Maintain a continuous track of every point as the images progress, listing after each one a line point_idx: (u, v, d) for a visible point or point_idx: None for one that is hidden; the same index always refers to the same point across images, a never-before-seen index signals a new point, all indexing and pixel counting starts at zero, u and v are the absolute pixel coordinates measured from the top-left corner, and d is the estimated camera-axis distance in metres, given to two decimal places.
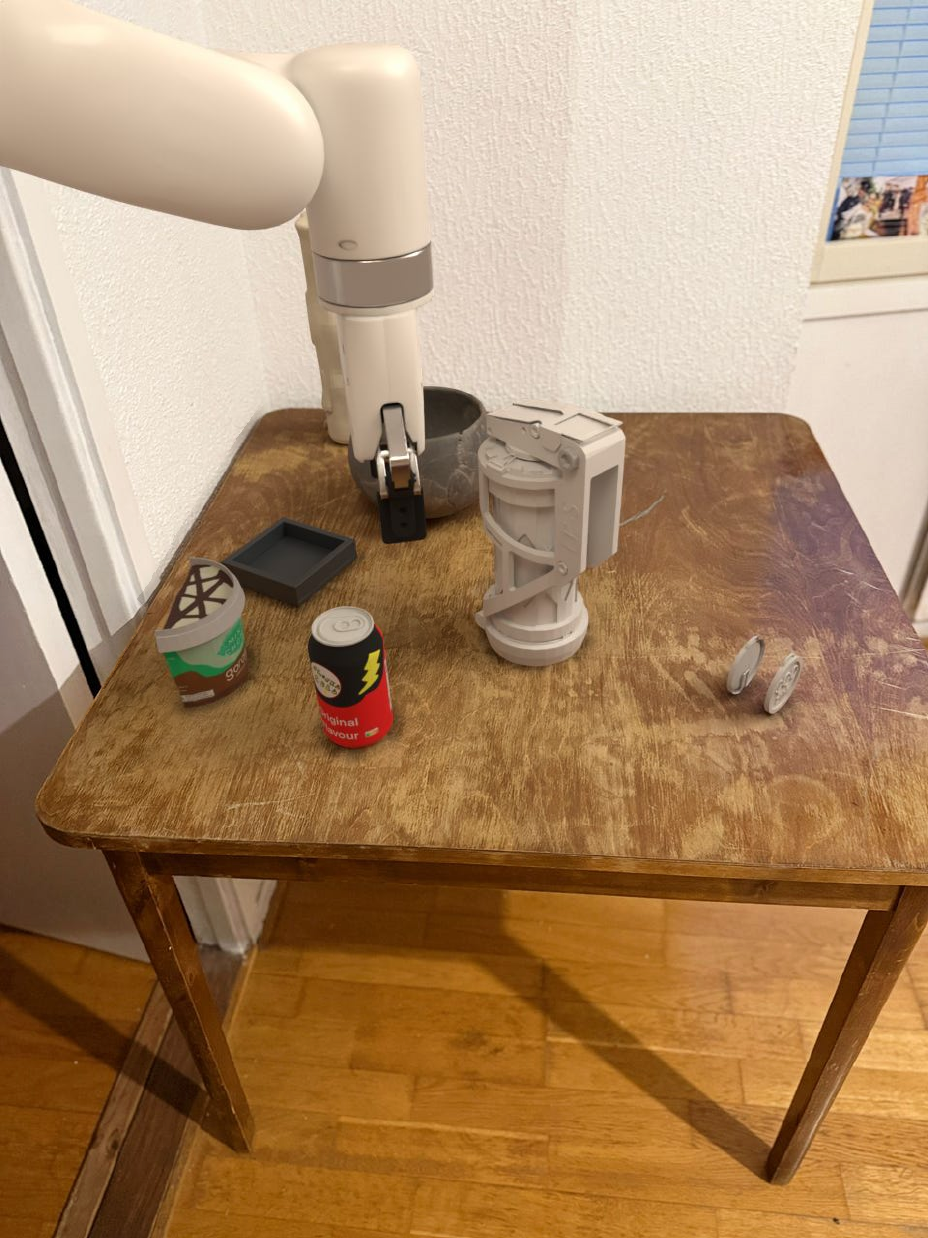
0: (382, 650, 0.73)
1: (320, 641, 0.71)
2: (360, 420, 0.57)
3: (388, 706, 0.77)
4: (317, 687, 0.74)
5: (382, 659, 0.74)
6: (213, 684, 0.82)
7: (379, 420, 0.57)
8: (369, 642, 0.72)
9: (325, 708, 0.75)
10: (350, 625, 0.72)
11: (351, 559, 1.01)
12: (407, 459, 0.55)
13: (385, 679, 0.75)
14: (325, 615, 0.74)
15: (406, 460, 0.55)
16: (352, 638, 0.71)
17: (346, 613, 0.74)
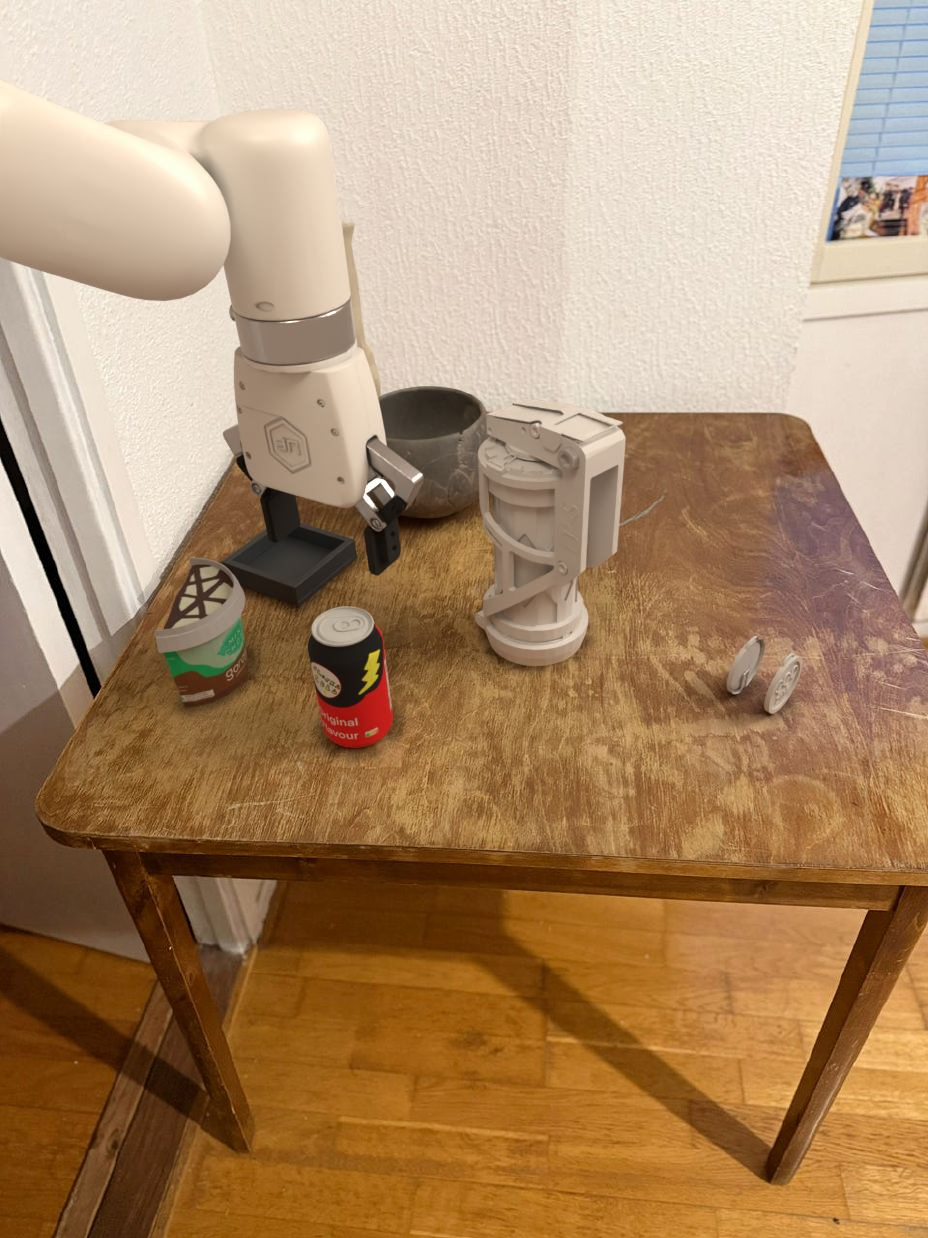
0: (382, 650, 0.73)
1: (320, 641, 0.71)
2: (353, 463, 0.59)
3: (388, 706, 0.77)
4: (317, 687, 0.74)
5: (382, 659, 0.74)
6: (213, 684, 0.82)
7: (366, 457, 0.59)
8: (369, 642, 0.72)
9: (325, 708, 0.75)
10: (350, 625, 0.72)
11: (351, 559, 1.01)
12: (421, 475, 0.60)
13: (385, 679, 0.75)
14: (325, 615, 0.74)
15: (421, 476, 0.60)
16: (352, 638, 0.71)
17: (346, 613, 0.74)
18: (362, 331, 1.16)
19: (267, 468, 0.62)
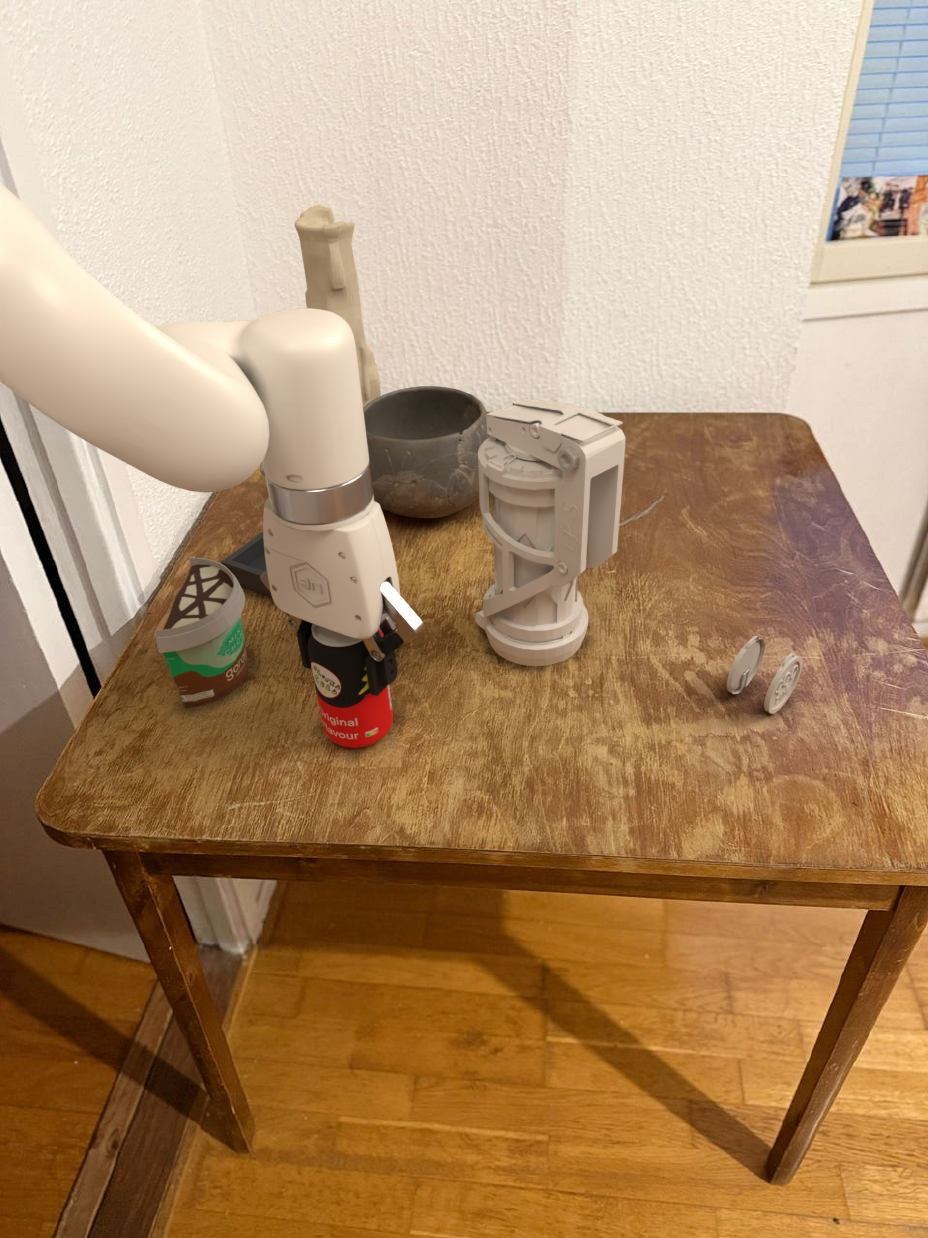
0: None
1: (320, 641, 0.71)
2: (370, 604, 0.66)
3: (388, 706, 0.77)
4: (317, 687, 0.74)
5: None
6: (213, 684, 0.82)
7: (380, 597, 0.67)
8: None
9: (325, 708, 0.75)
10: None
11: None
12: (423, 624, 0.68)
13: None
14: None
15: (422, 625, 0.68)
16: (352, 638, 0.71)
17: None
18: (362, 331, 1.16)
19: (291, 600, 0.70)
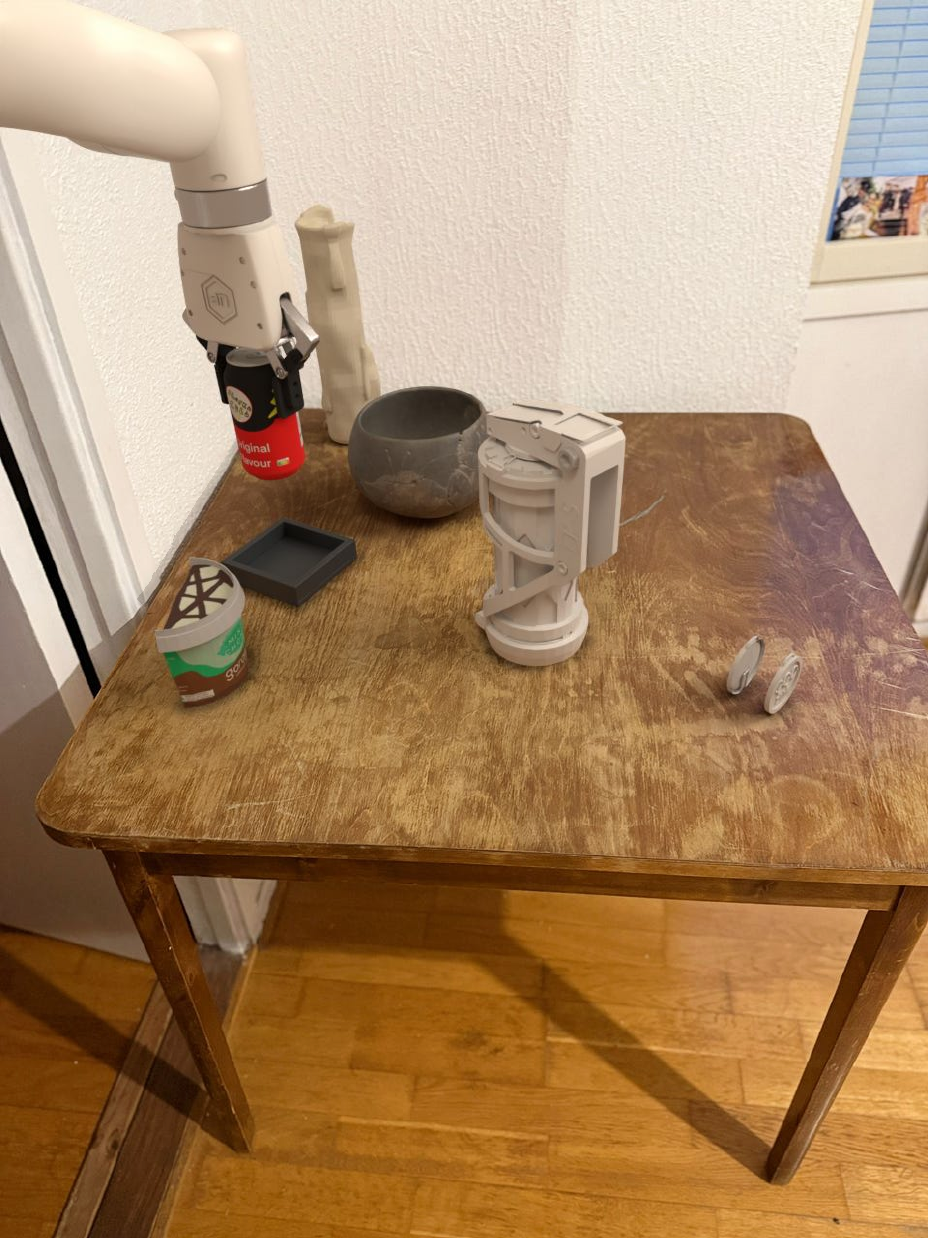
0: None
1: (232, 363, 0.81)
2: (269, 312, 0.75)
3: (298, 440, 0.86)
4: (233, 415, 0.84)
5: None
6: (213, 684, 0.82)
7: (280, 309, 0.76)
8: None
9: (241, 436, 0.85)
10: (260, 354, 0.82)
11: (351, 559, 1.01)
12: (318, 337, 0.77)
13: None
14: (240, 350, 0.84)
15: (318, 338, 0.77)
16: (260, 361, 0.81)
17: None
18: (362, 331, 1.16)
19: (205, 322, 0.79)
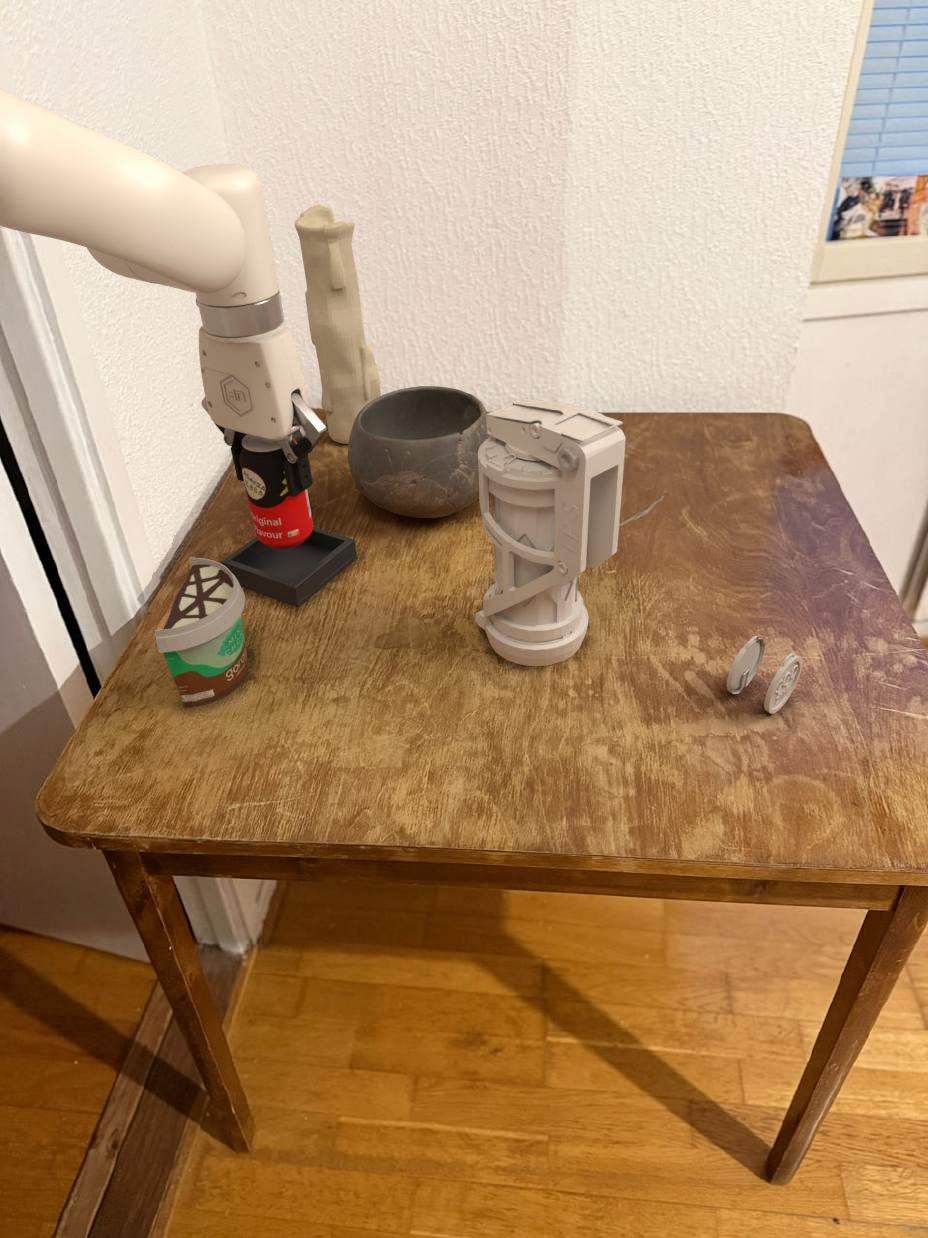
0: None
1: (247, 448, 0.89)
2: (282, 407, 0.84)
3: (307, 513, 0.95)
4: (248, 492, 0.92)
5: None
6: (213, 684, 0.82)
7: (291, 404, 0.85)
8: None
9: (255, 511, 0.93)
10: None
11: (351, 559, 1.01)
12: (326, 428, 0.86)
13: None
14: None
15: (325, 429, 0.86)
16: (273, 446, 0.89)
17: None
18: (362, 331, 1.16)
19: (223, 413, 0.88)
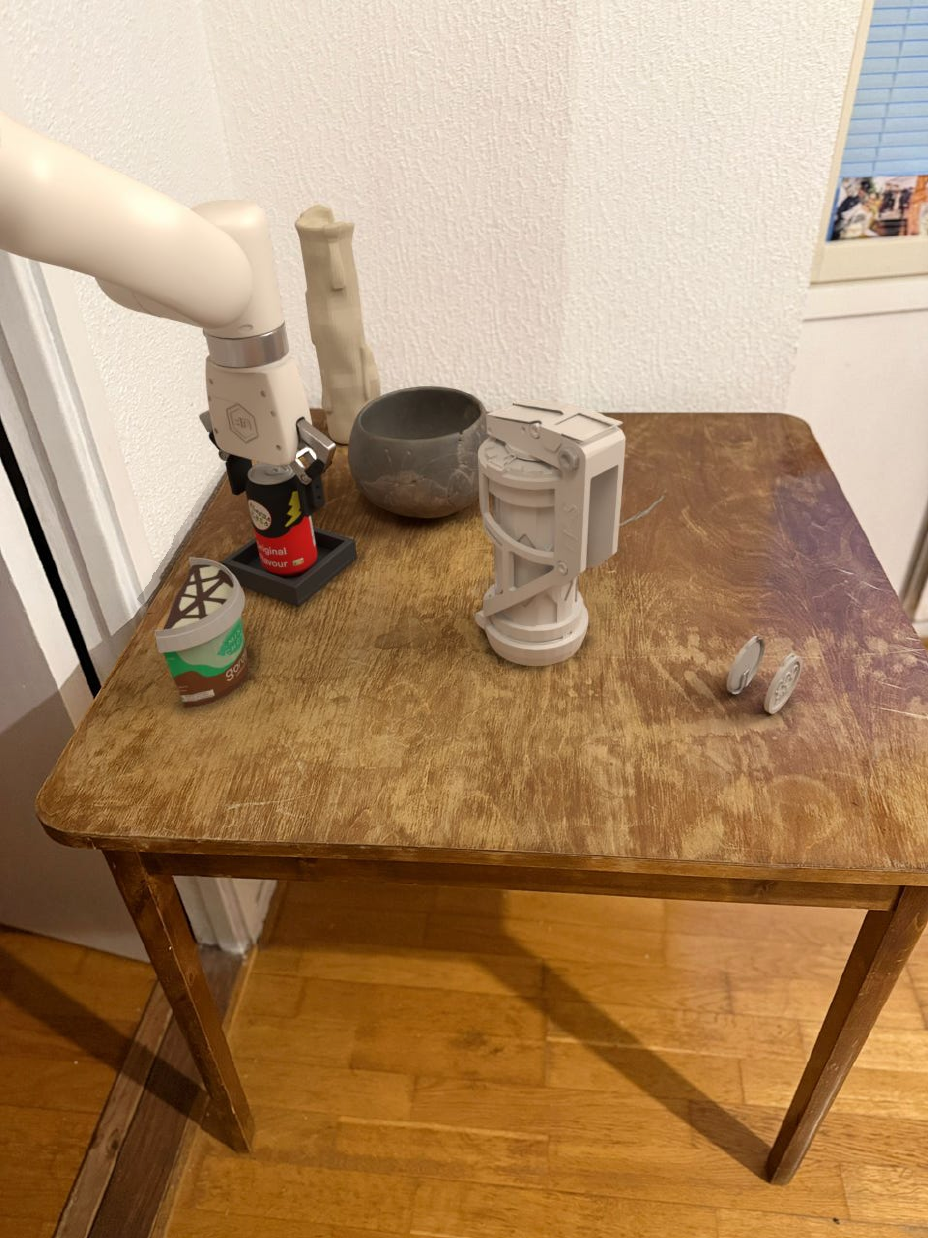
0: None
1: (253, 481, 0.91)
2: (287, 435, 0.86)
3: (311, 542, 0.97)
4: (253, 522, 0.95)
5: None
6: (213, 684, 0.82)
7: (296, 432, 0.86)
8: (292, 483, 0.92)
9: (261, 540, 0.95)
10: (278, 471, 0.93)
11: (351, 559, 1.01)
12: (334, 444, 0.87)
13: (308, 517, 0.95)
14: (259, 465, 0.94)
15: (334, 445, 0.87)
16: (278, 479, 0.91)
17: None
18: (362, 331, 1.16)
19: (229, 439, 0.89)
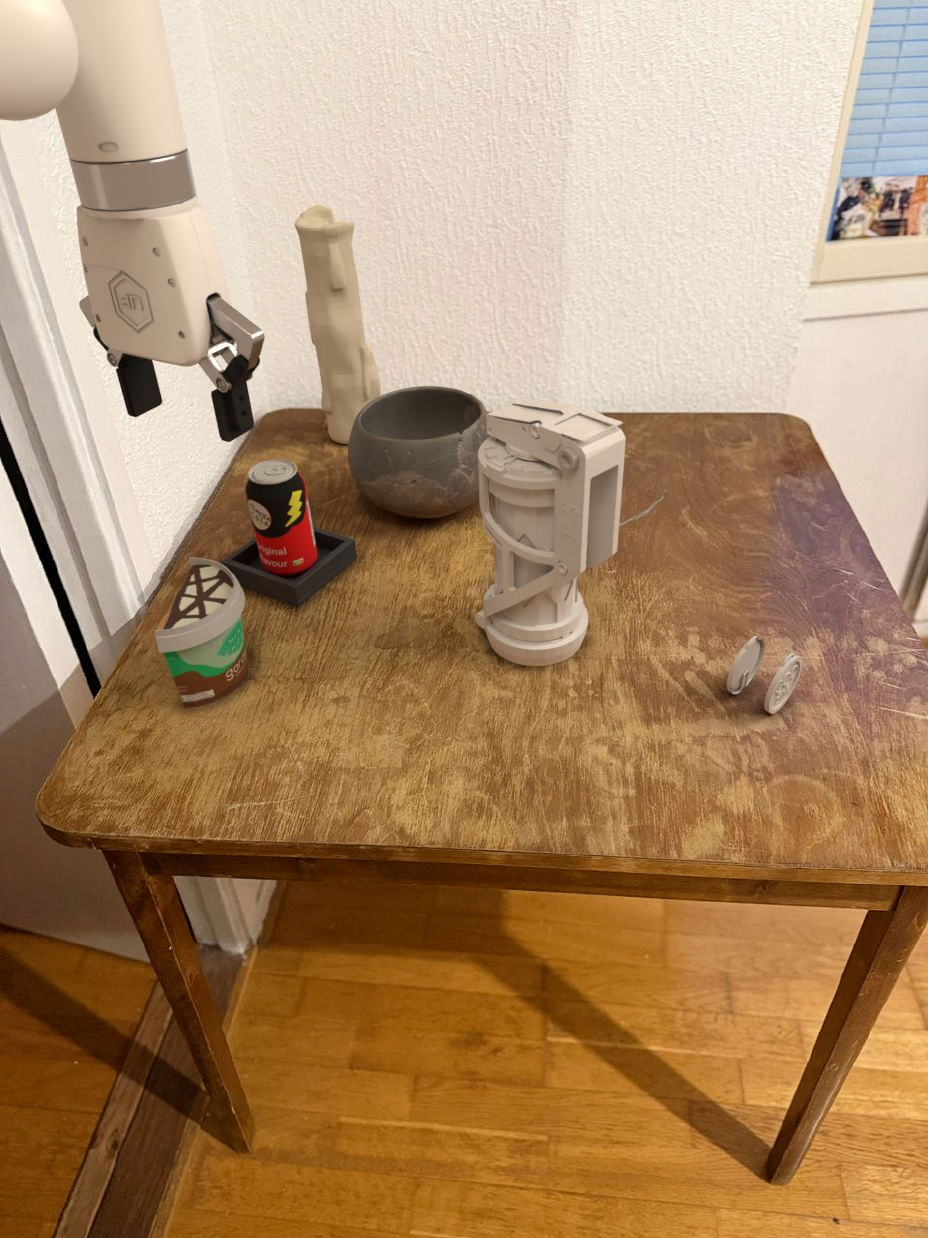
0: (304, 492, 0.94)
1: (253, 481, 0.91)
2: (193, 317, 0.60)
3: (311, 542, 0.97)
4: (253, 522, 0.95)
5: (304, 500, 0.94)
6: (213, 684, 0.82)
7: (207, 313, 0.61)
8: (292, 483, 0.92)
9: (261, 540, 0.95)
10: (278, 471, 0.93)
11: (351, 559, 1.01)
12: (261, 332, 0.61)
13: (308, 517, 0.95)
14: (259, 465, 0.94)
15: (261, 333, 0.61)
16: (278, 479, 0.91)
17: (276, 463, 0.94)
18: (362, 331, 1.16)
19: (115, 330, 0.64)
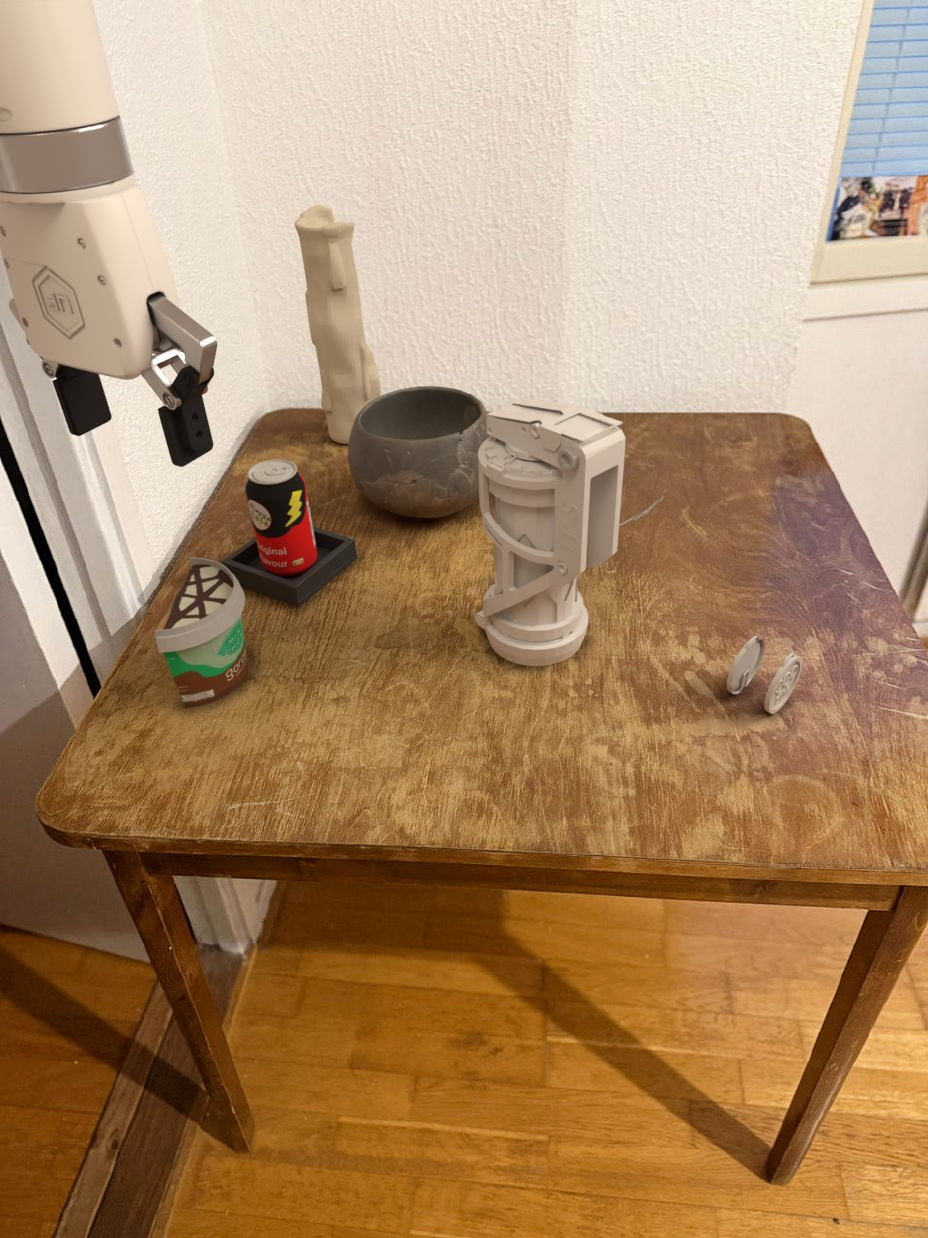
0: (304, 492, 0.94)
1: (253, 481, 0.91)
2: (130, 321, 0.50)
3: (311, 542, 0.97)
4: (253, 522, 0.95)
5: (304, 500, 0.94)
6: (213, 684, 0.82)
7: (148, 316, 0.51)
8: (292, 483, 0.92)
9: (261, 540, 0.95)
10: (278, 471, 0.93)
11: (351, 559, 1.01)
12: (213, 338, 0.51)
13: (308, 517, 0.95)
14: (259, 465, 0.94)
15: (213, 340, 0.51)
16: (278, 479, 0.91)
17: (276, 463, 0.94)
18: (362, 331, 1.16)
19: (45, 336, 0.54)
